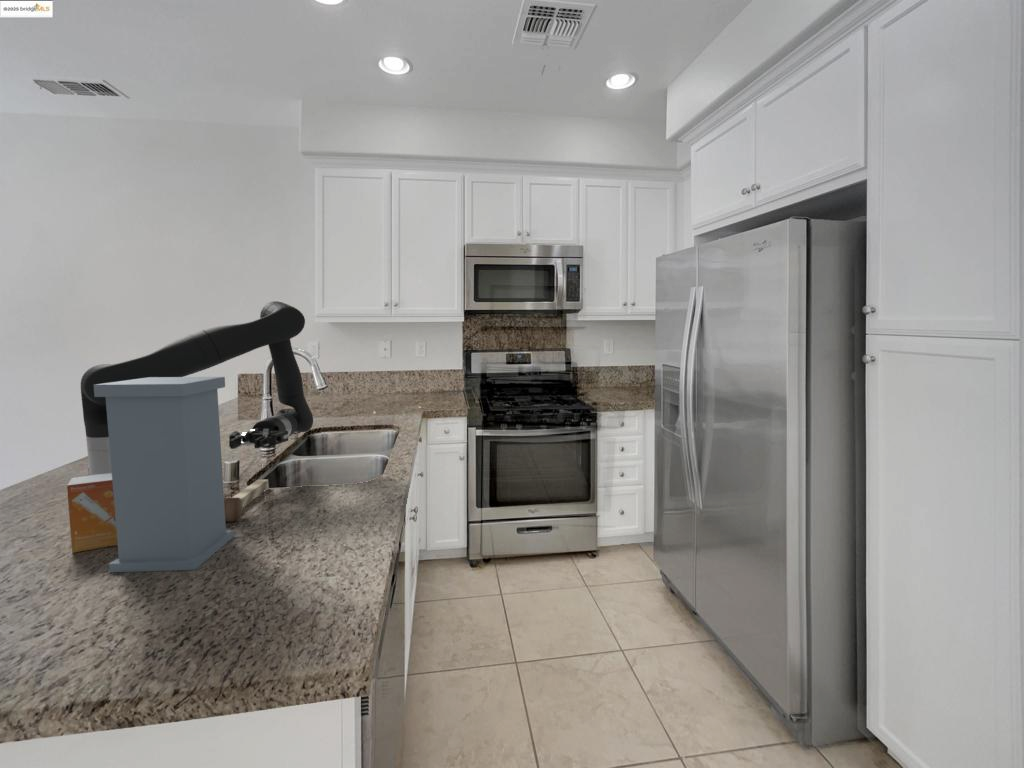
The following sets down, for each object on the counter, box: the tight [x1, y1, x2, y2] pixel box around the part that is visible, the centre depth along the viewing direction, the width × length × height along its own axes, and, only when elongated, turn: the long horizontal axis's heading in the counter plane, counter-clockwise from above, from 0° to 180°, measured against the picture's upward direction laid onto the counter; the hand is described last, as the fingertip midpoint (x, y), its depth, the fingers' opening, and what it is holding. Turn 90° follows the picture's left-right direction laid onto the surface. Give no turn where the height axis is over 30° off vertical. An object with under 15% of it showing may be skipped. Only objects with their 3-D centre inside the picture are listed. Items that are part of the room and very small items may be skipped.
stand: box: [94, 376, 235, 573], centre depth 92 cm, size 14×14×32 cm
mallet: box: [224, 479, 270, 523], centre depth 120 cm, size 25×7×5 cm, turn 4°
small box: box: [66, 473, 118, 554], centre depth 98 cm, size 8×6×13 cm
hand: (244, 444), depth 121 cm, fingers open, 5 cm apart
